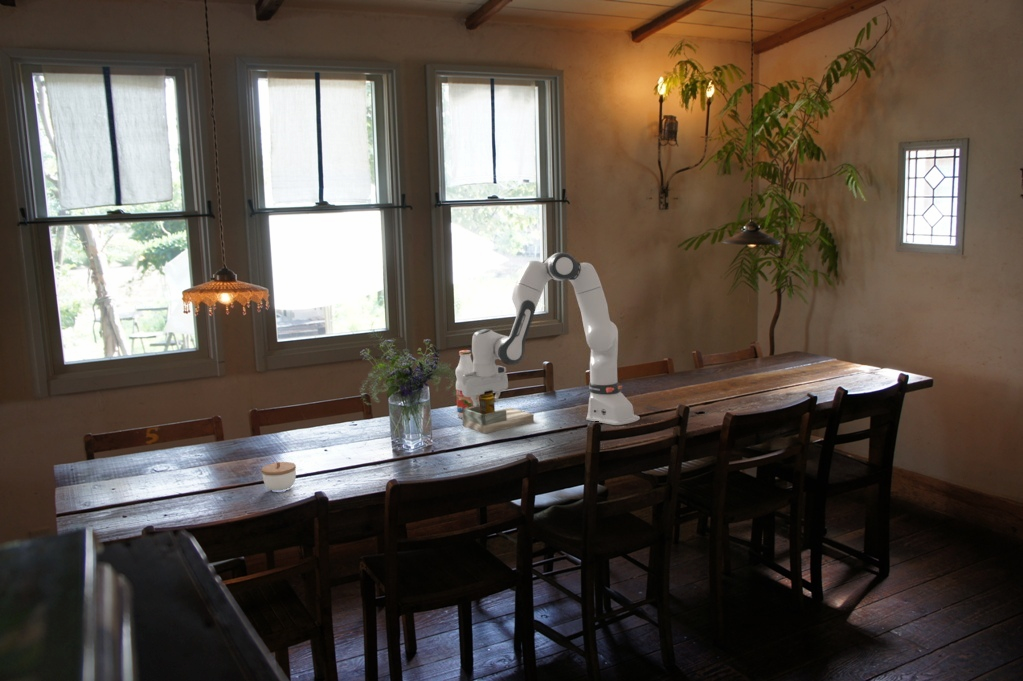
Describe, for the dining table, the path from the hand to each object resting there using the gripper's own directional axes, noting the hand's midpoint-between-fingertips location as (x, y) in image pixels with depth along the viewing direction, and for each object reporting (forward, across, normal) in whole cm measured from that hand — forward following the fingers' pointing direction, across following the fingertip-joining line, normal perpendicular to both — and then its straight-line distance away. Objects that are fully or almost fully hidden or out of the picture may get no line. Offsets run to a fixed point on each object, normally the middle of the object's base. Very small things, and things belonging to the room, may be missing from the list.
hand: (486, 403), depth 341 cm
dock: (+9, +6, 0) cm, 11 cm away
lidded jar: (+9, -92, -15) cm, 94 cm away
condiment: (+6, -1, 0) cm, 7 cm away
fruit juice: (+9, +4, +19) cm, 22 cm away
